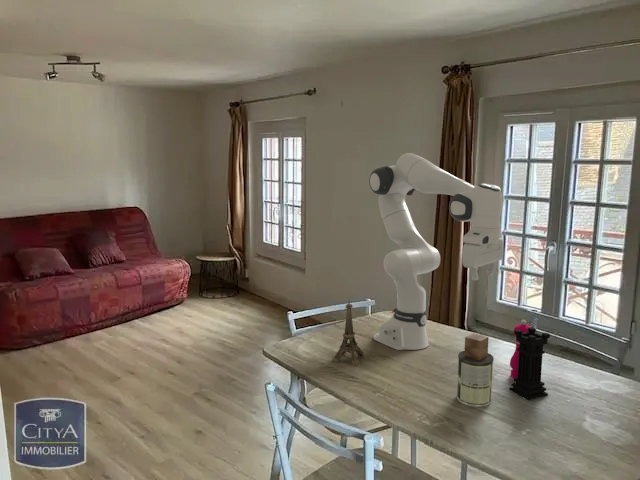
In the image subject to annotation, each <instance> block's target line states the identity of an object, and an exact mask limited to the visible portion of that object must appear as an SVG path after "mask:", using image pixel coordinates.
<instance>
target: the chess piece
mask: <svg viewBox="0 0 640 480" xmlns="http://www.w3.org/2000/svg"><path fill="white" fill-rule="evenodd" d="M514 334H516V336H515V337H516V340H517V341H519V342H520V344H519V347H518V348H517V350H518V351H519V361H518V378H515V379H514V378H513V382H511V387H509V388H508V389H509V391H511V392H512V393H514V394H516V395H518V396H520V398H522V399H525V400H526V401H532V400H536V399H540V398H544V397H547V396H549V393H548V392H546V391H547V387H544V386H545V385H546V384H545V382H543V381H542V371H543V370H542V366H543V355H544V354H545V352H546V351H545V350H544V345H548V341H549V340H548V339H550V337H551V336H550V335H551V334H550V333H548V332H542V333H541V334H539V333H538V332H537V329H536V328H535V327H532V326H530V328H528V332H525V333H522V331H521V330H514V329H513V335H514Z"/></svg>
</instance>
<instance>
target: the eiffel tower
mask: <svg viewBox="0 0 640 480" xmlns="http://www.w3.org/2000/svg"><path fill="white" fill-rule="evenodd" d="M352 308H353V304H351V303H350V301H348V303H347V304H346V305H345V309H346V317H345V324H344V325H345V326H344V333H343V334H342V337H343V339H342V342H341V345H339V347H340V348H339V349H338V351H337V353H336V354H335V355H334V357H333V358H332V359H331V361H330V363H331V362H334V363H333V364H339V362H340V361H341V357H342V355H344V356H347V354H348V353H349V354H350V355H351V363H350V366H351V365H354V366H353V367H357V366H358V367H360V365H361V363H360V361H359V359H363V358H364V359H366V358H367V357H368V356H367V355H366V354H365V353H364V352H363V350H362V349H361V348H360V347H359V345H358V343H357V341H356V338H355V335H356V332H355V331H354V325H353V317H352V316H353V315H352ZM348 341H349V342H348ZM355 353H356V354H357V356H356V354H355ZM365 357H366V358H365Z"/></svg>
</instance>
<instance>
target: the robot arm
mask: <svg viewBox="0 0 640 480" xmlns="http://www.w3.org/2000/svg"><path fill="white" fill-rule="evenodd" d="M368 183H369V187H370V189H371V191H372V192H373V193H374V194H376V195H379V197H378V200H377V201H378V207H379V213H380V216H381V219H382V223H383V224H384V228H385V232H386V233H387V237H388V238H389V240H390V241H392V242H394V243H395V244H397V245H398V246H399V248H398V249H397V248H396V249H394V250H392V251H390V252H388V253H386V255H385V256H384V259H383V263H382V264H383V269H384V271H385V272H386V274H387V275H388V276H389V277H391V279H392V280H393V282H394V284H395V288H396V295H397V298H396V300H397V301H396V303H397V304H396V305H397V307H395V308H394V309H391V313H393V316H392V317H390V318H389V319H387V320H385V321H384V322H382V323H381V325H380V327H379V332H377V333H376V334H374V335H373V341H376V342H379V343H381V344H383V345H385V346H387V347H390V348H392V349H394V350H396V351H402V350H413V351H414V350H415V351H417V350H422V349H426V348H428V347H429V345H430V343H429V339H428V335H427V325H426V324H427V309H426V307H427V306H426V305H427V304H426V303H427V292H426V289H425V288H424V287H423V286H422V285H420V284H419V281H418V275H424V274H429V273H430V272H433V271H434V270H436V269H438V267H440V265H441V254H440V252H439V250H438V249H437V248H436V247H434V246H433V245H431V244H429V243H428V242H427V241H426V240H425V239H424V238H423V236H422V235H421V234H420V233H419V230H418V229H417V228H416V225H415V223H414V221H413V218H412V215H411V212H410V210H409V206H408V205H407V203H406V196H413V194H414V192H416V191H419V192H420V193H422V194H428V195H429V194H430V195H431V194H432V195H448V196H452V197H451V199H450V201H449V204H448V210H449V213H450V216H451V217H452V219H454V220H455V221H457V222H461V223H462V222H464V223H465V222H471V227H470V228H471V229H469V230H468V232H466V233H465V234H464V235H463V236H462V243H464V244H463V246H462V258H461V260H462V266H463V267H464V268H467V269H469V271H470V275H471V277H470V278H471V281H475V282H476V281H478V280H479V279H480V275H479V273H478V270H479V267H483V266H486V265H488V266H487V269H485V270H486V272H485V274H486V276H493V275H494V270H495V268H496V265H497V262H499V261H501V260H503V257H504V240H503V239H502V235H501V225H502V224H501V217H502V212H503V194H502V189H501V188H500V186H498V185H495V184H492V183H486V182H485V183H478V184H476V185H473V184H471V183H469V182H467V181H466V180H464V179H461V178H459V177H457V176H455V175H453V174H451V173H449V172H448V171H446V170H444V169H442V168H440V167H439V166H438V165H435V164H434V163H432V162H431V161H429V159H426V158H425V157H422V156H420V155H417V154H415V153H411V152H406V153H404V154H401V156H399V158H398V159H397V160H396V164H393V165H389V166H388V165H386V166H380V167H378V168H375V169H373V170H372V171H371V173H370V175H369V180H368Z"/></svg>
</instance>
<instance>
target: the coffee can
mask: <svg viewBox="0 0 640 480" xmlns="http://www.w3.org/2000/svg"><path fill="white" fill-rule="evenodd" d="M464 351H465V350H462V351H460V352H459V353H458V356H457V357H458V361H457V362H458V364H457V365H458V366H457V369H458V370H457V392H456V394H457V395H456V400H458V402H460V403H461V404H463V405H466V406H469V407H473V408H481V407H482V408H483V407H486V406H490V405H491V403H492V393H493V392H492V389H493V388H492V387H493V370H494V369H493V368H494V359H495V358H494V355H492V354H491V353H488V356H487V357H485V358H483V359H481V360H476V359H473V358H469V357H466V356H464Z"/></svg>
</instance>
